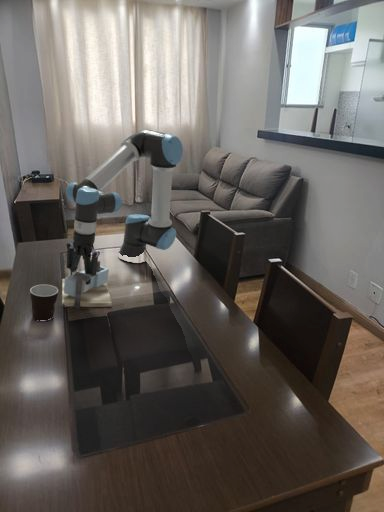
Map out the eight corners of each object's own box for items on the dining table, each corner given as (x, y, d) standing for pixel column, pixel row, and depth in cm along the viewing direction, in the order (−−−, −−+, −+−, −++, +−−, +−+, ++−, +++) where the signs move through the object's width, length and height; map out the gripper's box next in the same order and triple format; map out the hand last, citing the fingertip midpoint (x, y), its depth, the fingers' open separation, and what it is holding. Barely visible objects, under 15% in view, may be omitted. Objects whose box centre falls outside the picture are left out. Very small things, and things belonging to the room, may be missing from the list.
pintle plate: (62, 282, 147) (64, 255, 143) (105, 283, 153) (108, 257, 149) (62, 308, 128) (64, 278, 124) (111, 309, 134) (115, 280, 130)
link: (93, 276, 150) (94, 263, 148) (107, 282, 148) (108, 268, 146) (61, 291, 134) (62, 277, 132) (76, 297, 131) (77, 283, 129)
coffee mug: (47, 326, 116) (48, 298, 113) (23, 319, 118) (24, 292, 114) (66, 310, 127) (68, 285, 124) (44, 304, 128) (45, 279, 125)
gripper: (58, 226, 129) (54, 284, 137) (98, 240, 124) (92, 299, 132) (72, 223, 136) (68, 279, 144) (110, 235, 131) (104, 293, 138)
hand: (79, 288), depth 138 cm, fingers closed on link, 4 cm apart
